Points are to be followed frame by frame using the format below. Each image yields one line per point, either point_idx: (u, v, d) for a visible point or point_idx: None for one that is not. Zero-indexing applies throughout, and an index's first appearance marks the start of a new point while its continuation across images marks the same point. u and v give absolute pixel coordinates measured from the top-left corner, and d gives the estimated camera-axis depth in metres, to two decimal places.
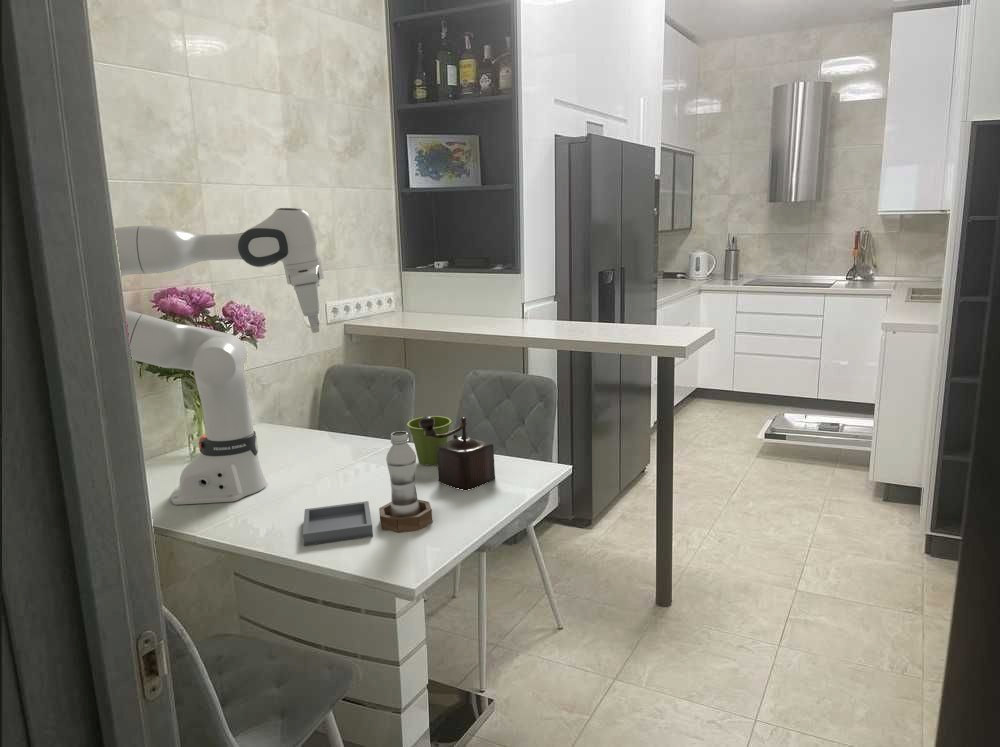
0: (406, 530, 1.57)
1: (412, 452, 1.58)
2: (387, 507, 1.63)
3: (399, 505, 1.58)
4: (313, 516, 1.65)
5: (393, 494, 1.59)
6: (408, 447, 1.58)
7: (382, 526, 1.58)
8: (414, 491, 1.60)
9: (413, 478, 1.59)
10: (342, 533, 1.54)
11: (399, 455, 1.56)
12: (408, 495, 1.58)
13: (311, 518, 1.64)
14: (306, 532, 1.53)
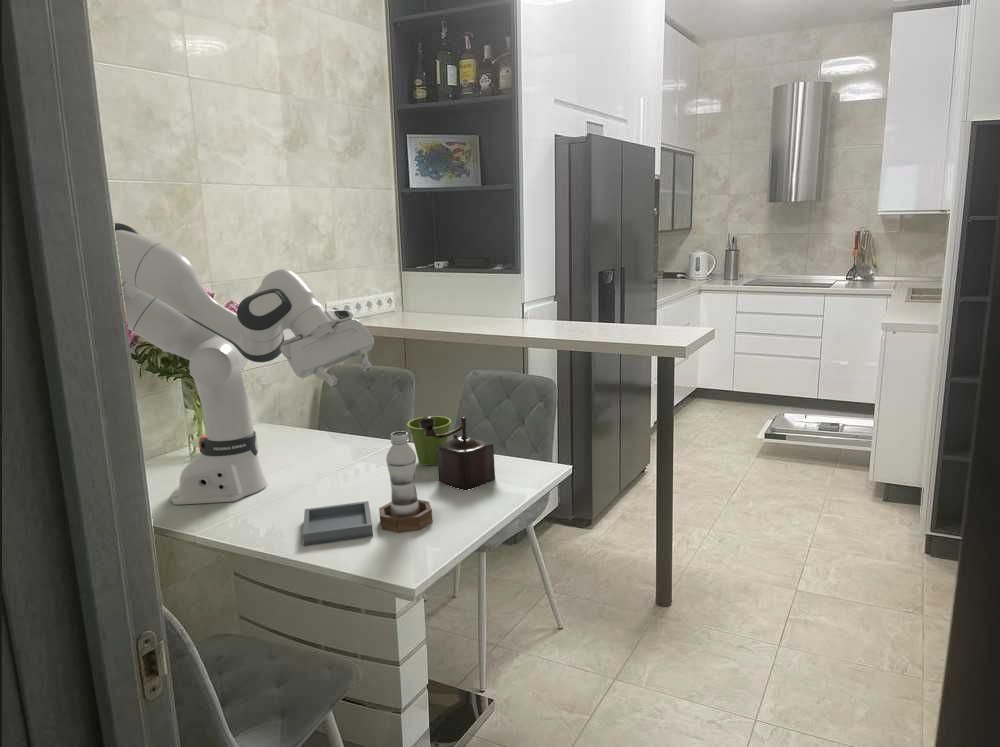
0: (406, 530, 1.57)
1: (412, 452, 1.58)
2: (387, 507, 1.63)
3: (399, 505, 1.58)
4: (313, 516, 1.65)
5: (393, 494, 1.59)
6: (408, 447, 1.58)
7: (382, 526, 1.58)
8: (414, 491, 1.60)
9: (413, 478, 1.59)
10: (342, 533, 1.54)
11: (399, 455, 1.56)
12: (408, 495, 1.58)
13: (311, 518, 1.64)
14: (306, 532, 1.53)
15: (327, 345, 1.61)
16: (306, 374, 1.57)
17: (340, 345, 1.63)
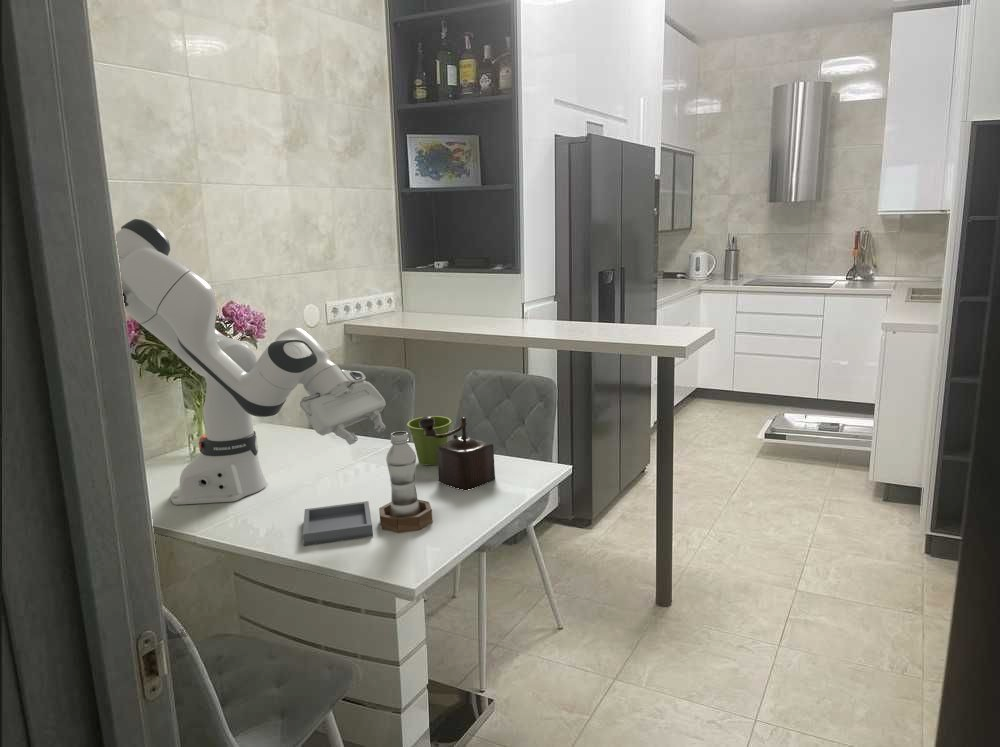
0: (406, 530, 1.57)
1: (412, 452, 1.58)
2: (387, 507, 1.63)
3: (399, 505, 1.58)
4: (313, 516, 1.65)
5: (393, 494, 1.59)
6: (408, 447, 1.58)
7: (382, 526, 1.58)
8: (414, 491, 1.60)
9: (413, 478, 1.59)
10: (342, 533, 1.54)
11: (399, 455, 1.56)
12: (408, 495, 1.58)
13: (311, 518, 1.64)
14: (306, 532, 1.53)
15: (345, 404, 1.61)
16: (327, 431, 1.55)
17: (357, 405, 1.63)
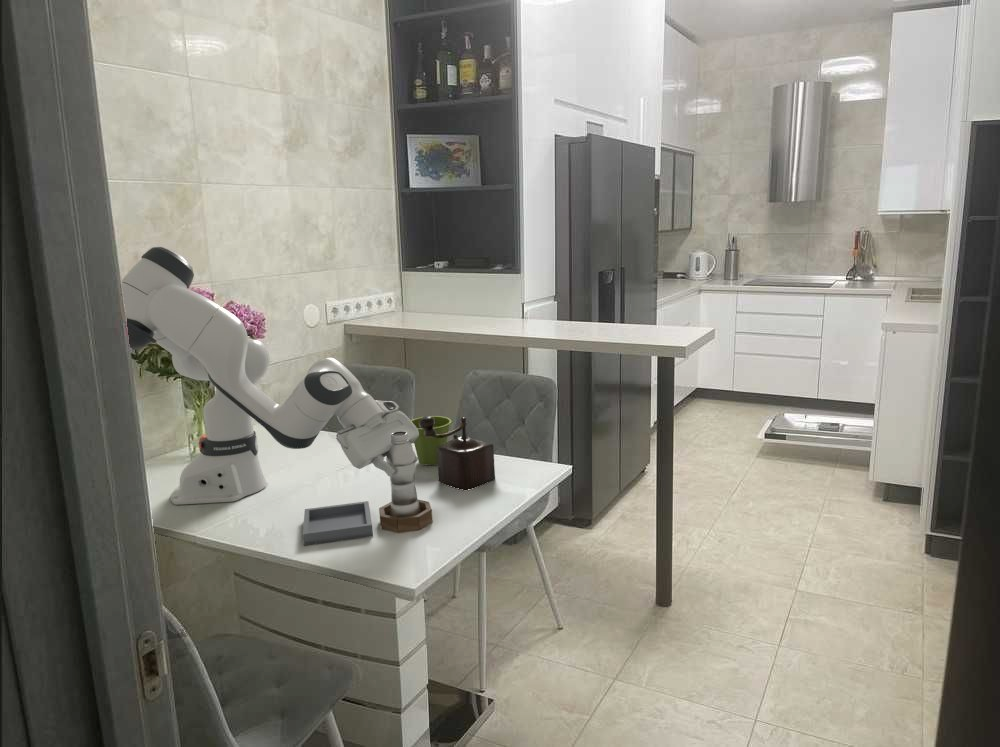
0: (406, 530, 1.57)
1: (412, 452, 1.58)
2: (387, 507, 1.63)
3: (399, 505, 1.58)
4: (313, 516, 1.65)
5: (393, 494, 1.59)
6: (408, 447, 1.58)
7: (382, 526, 1.58)
8: (414, 491, 1.60)
9: (413, 478, 1.59)
10: (342, 533, 1.54)
11: (399, 455, 1.56)
12: (408, 495, 1.58)
13: (311, 518, 1.64)
14: (306, 532, 1.53)
15: (380, 436, 1.59)
16: (364, 464, 1.53)
17: None
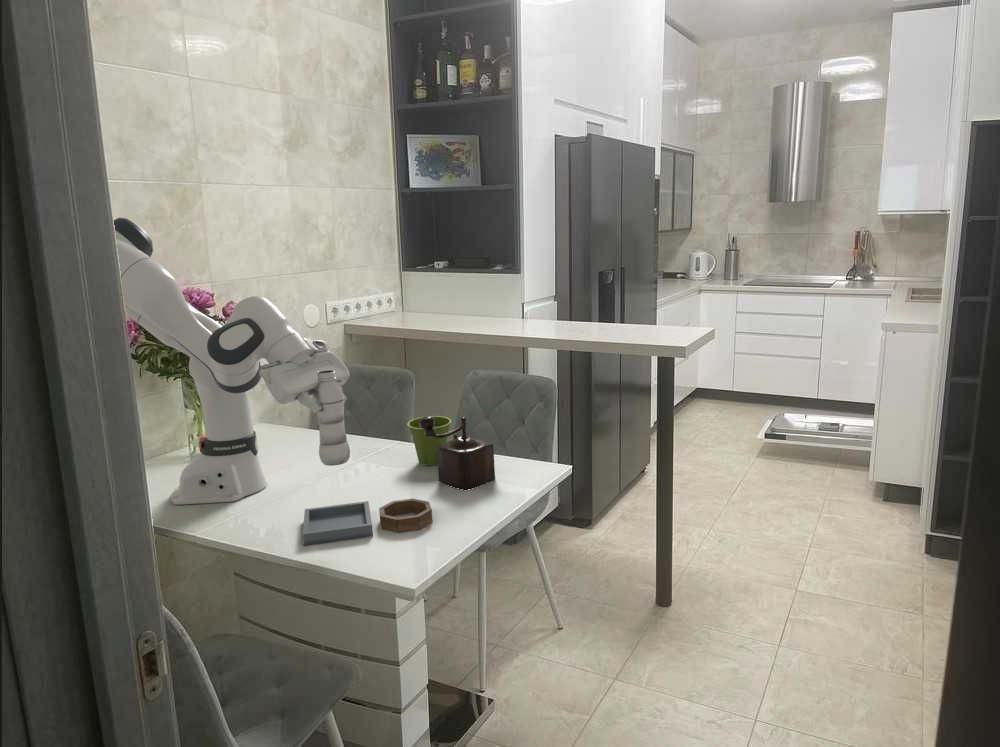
0: (406, 530, 1.57)
1: (339, 390, 1.54)
2: (387, 507, 1.63)
3: (327, 446, 1.54)
4: (313, 516, 1.65)
5: (321, 434, 1.55)
6: (335, 385, 1.54)
7: (382, 526, 1.58)
8: (343, 431, 1.55)
9: (341, 418, 1.55)
10: (342, 533, 1.54)
11: (326, 392, 1.52)
12: (336, 435, 1.54)
13: (311, 518, 1.64)
14: (306, 532, 1.53)
15: (307, 373, 1.55)
16: (287, 399, 1.48)
17: None
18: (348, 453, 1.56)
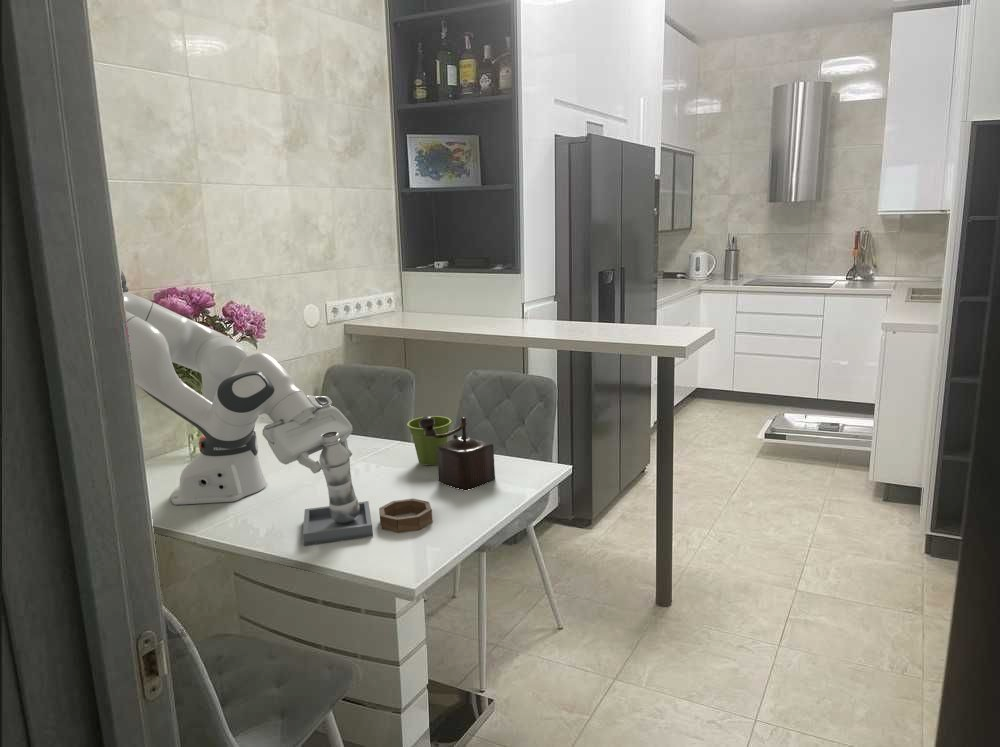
0: (406, 530, 1.57)
1: (344, 452, 1.57)
2: (387, 507, 1.63)
3: (336, 505, 1.58)
4: (313, 516, 1.65)
5: (330, 494, 1.58)
6: (340, 447, 1.56)
7: (382, 526, 1.58)
8: (351, 490, 1.59)
9: (348, 477, 1.58)
10: (342, 533, 1.54)
11: (331, 456, 1.55)
12: (345, 495, 1.58)
13: (311, 518, 1.64)
14: (306, 532, 1.53)
15: (309, 431, 1.57)
16: (290, 460, 1.50)
17: (322, 432, 1.59)
18: (358, 509, 1.60)
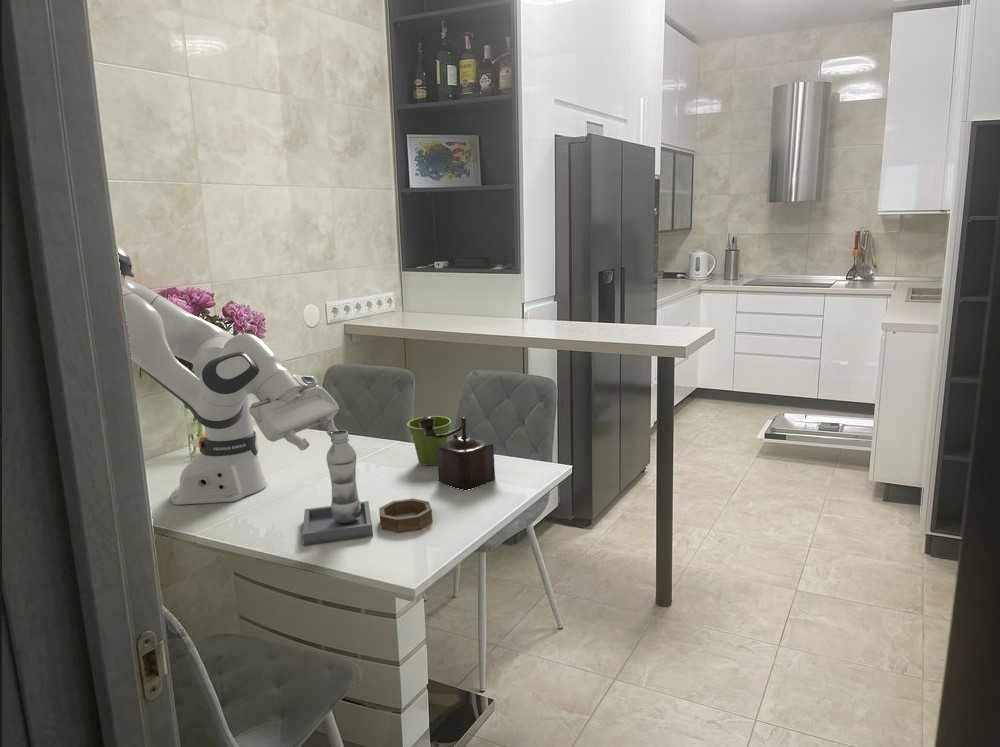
0: (406, 530, 1.57)
1: (352, 451, 1.58)
2: (387, 507, 1.63)
3: (339, 504, 1.58)
4: (313, 516, 1.65)
5: (333, 493, 1.59)
6: (348, 446, 1.58)
7: (382, 526, 1.58)
8: (354, 490, 1.60)
9: (353, 477, 1.59)
10: (342, 533, 1.54)
11: (339, 454, 1.56)
12: (348, 494, 1.58)
13: (311, 518, 1.64)
14: (306, 532, 1.53)
15: (296, 409, 1.58)
16: (277, 437, 1.52)
17: (308, 410, 1.60)
18: (359, 511, 1.61)
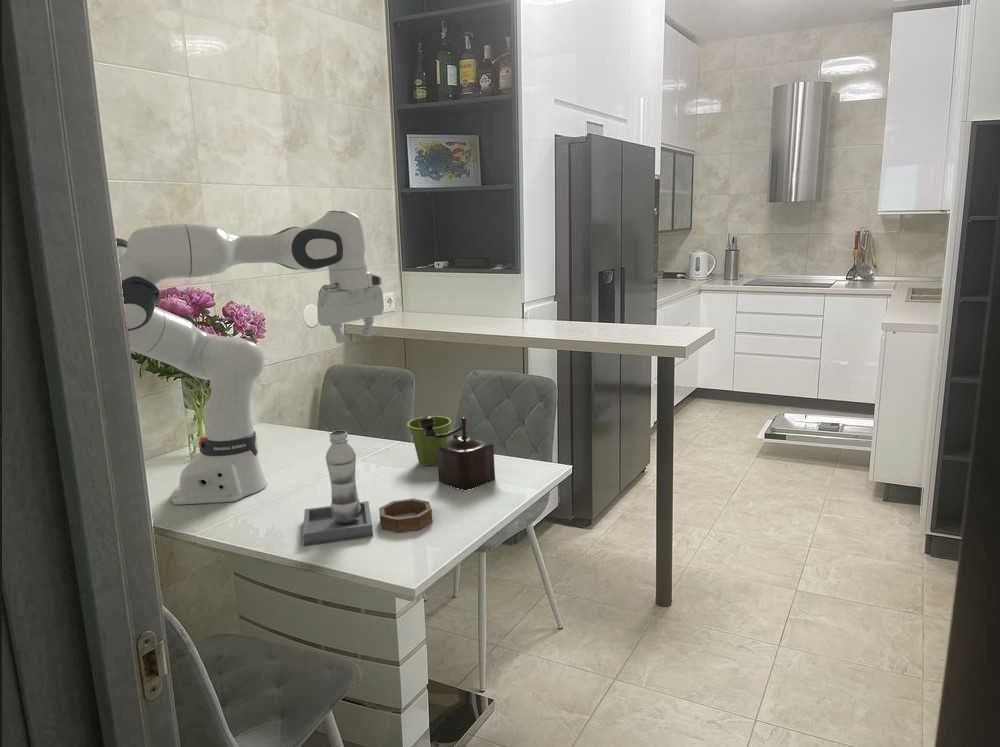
0: (406, 530, 1.57)
1: (351, 451, 1.58)
2: (387, 507, 1.63)
3: (339, 505, 1.58)
4: (313, 516, 1.65)
5: (333, 493, 1.59)
6: (347, 446, 1.58)
7: (382, 526, 1.58)
8: (354, 490, 1.60)
9: (353, 477, 1.59)
10: (342, 533, 1.54)
11: (338, 454, 1.56)
12: (348, 494, 1.58)
13: (311, 518, 1.64)
14: (306, 532, 1.53)
15: (353, 305, 1.74)
16: (326, 325, 1.69)
17: (361, 309, 1.76)
18: (359, 511, 1.61)
